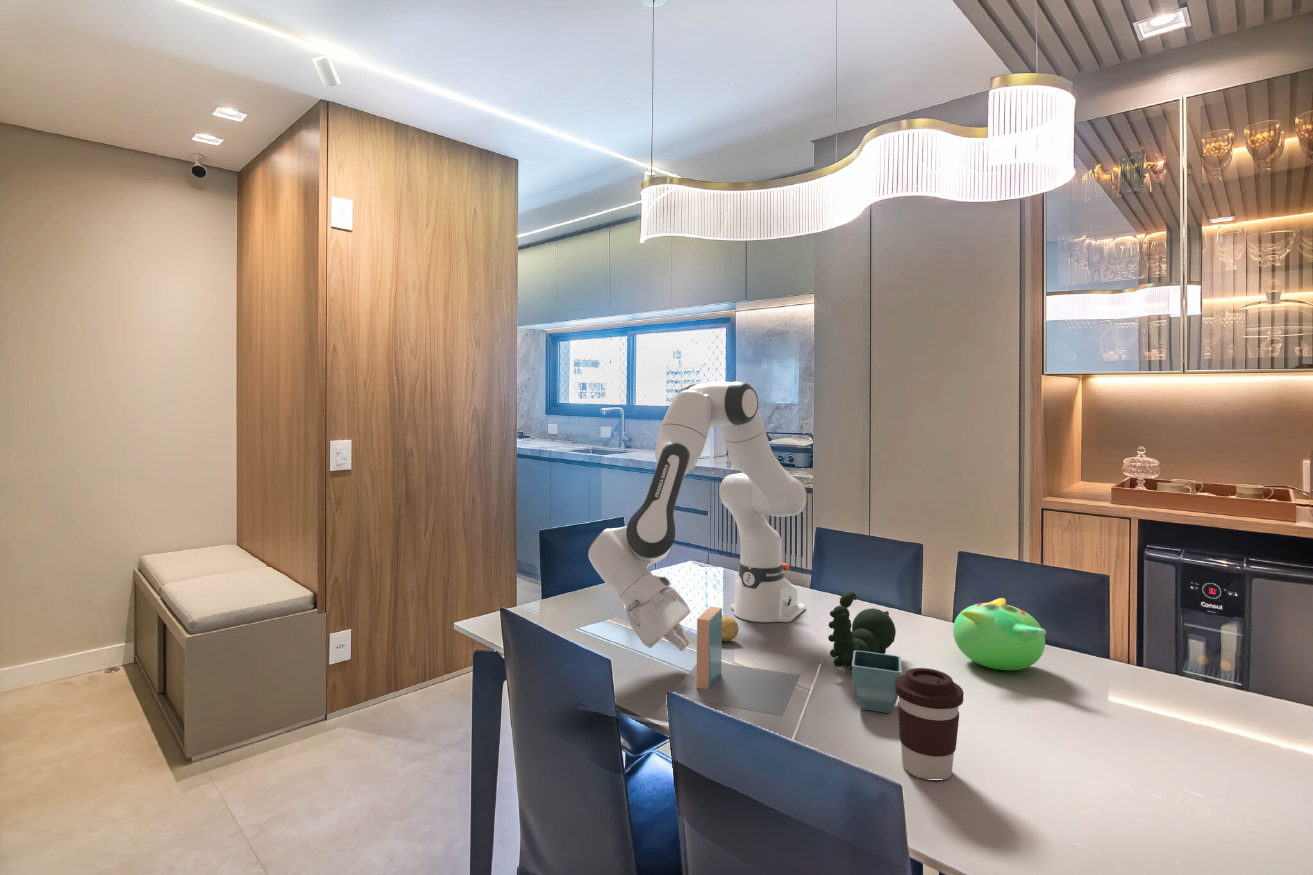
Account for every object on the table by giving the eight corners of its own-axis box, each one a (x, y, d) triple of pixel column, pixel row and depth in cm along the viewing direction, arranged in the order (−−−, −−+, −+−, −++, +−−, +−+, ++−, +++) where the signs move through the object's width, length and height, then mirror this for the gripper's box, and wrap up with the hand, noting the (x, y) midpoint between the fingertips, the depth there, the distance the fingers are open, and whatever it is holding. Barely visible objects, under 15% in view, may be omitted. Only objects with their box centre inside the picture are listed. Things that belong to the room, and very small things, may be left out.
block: (696, 687, 131) (697, 618, 130) (709, 671, 139) (710, 606, 139) (709, 689, 130) (709, 620, 129) (721, 673, 138) (722, 607, 138)
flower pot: (899, 700, 127) (900, 655, 127) (900, 720, 119) (902, 672, 119) (852, 693, 130) (853, 649, 130) (850, 712, 122) (851, 665, 121)
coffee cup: (882, 754, 107) (884, 664, 106) (940, 751, 108) (942, 662, 107) (911, 788, 97) (913, 690, 97) (974, 786, 98) (977, 688, 97)
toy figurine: (859, 692, 135) (908, 650, 153) (857, 604, 133) (906, 571, 151) (818, 679, 141) (869, 640, 159) (815, 594, 139) (868, 565, 157)
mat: (669, 698, 127) (669, 695, 127) (700, 662, 146) (700, 659, 146) (781, 718, 119) (781, 715, 119) (799, 677, 138) (799, 674, 138)
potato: (726, 649, 154) (726, 623, 154) (691, 637, 162) (691, 612, 162) (743, 642, 159) (743, 616, 159) (708, 631, 167) (708, 607, 166)
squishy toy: (1039, 661, 148) (1041, 597, 147) (1049, 689, 133) (1051, 618, 132) (952, 648, 156) (954, 587, 155) (952, 673, 140) (953, 606, 140)
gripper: (633, 599, 129) (679, 655, 126) (669, 575, 148) (710, 623, 145) (613, 618, 131) (658, 674, 128) (651, 592, 150) (691, 640, 147)
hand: (686, 646), depth 136 cm, fingers closed
